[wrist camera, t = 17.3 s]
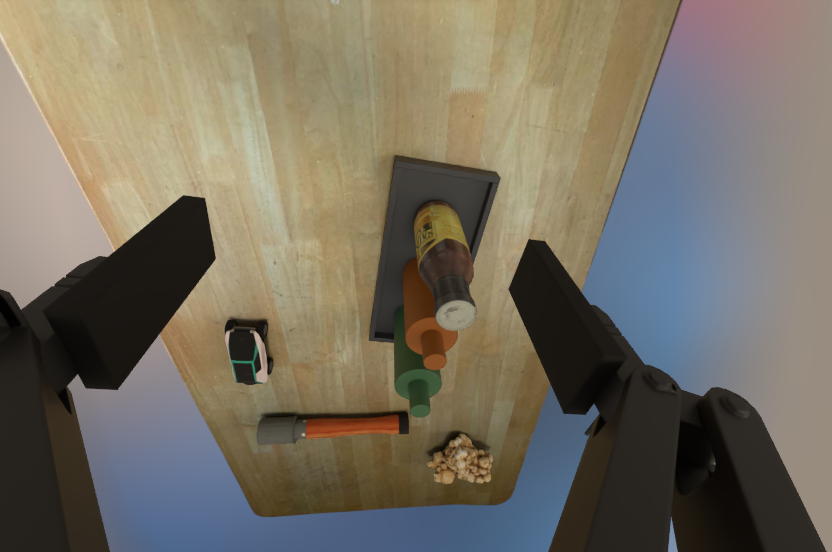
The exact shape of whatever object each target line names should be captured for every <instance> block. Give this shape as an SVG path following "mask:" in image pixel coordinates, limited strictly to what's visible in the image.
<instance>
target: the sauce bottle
mask: <svg viewBox="0 0 832 552" xmlns="http://www.w3.org/2000/svg"><path fill="white" fill-rule="evenodd" d="M414 232H415V242H416V252H417V261H418V270H419V275H420V277H421V279H422V280H423V281H424V282H425V284H426V285H427V286H428V288H429V289H430V290H431V292H432V295H433V297H434V303H435V306H434V314H435V319H436V321H437V323H438V324H439V325H440V326H441V327H442V328H444V329H446V330H450V331H457V330H462V329H464V328H467V327H468V326H470V325H471V324H472V323H473V322H474V321H475V319H476V315H477V310H476V307H475V303H474V300H473V299H472V298H471V295H470V292H469V285H470V283H471V282H472V279H473V277H474V271H473V269H474V268H473V263H472V260H471V254H470V251H469V248H468V245H467V242H466V239H465V236H464V233H463V230H462V226H461V223H460V220H459V218H458V215H457V214H456V213H455V211H454V209H453V208H452V206H450V205H449V204H447V203H445V202H441V201H432V202H429V203H427V204H425V205H423V206H422V207H421V208H420V210H419V211H418V213H417V214H416V217H415V222H414Z"/></svg>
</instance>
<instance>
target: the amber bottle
mask: <svg viewBox="0 0 832 552" xmlns="http://www.w3.org/2000/svg"><path fill="white" fill-rule="evenodd" d="M402 278H403V298H404V319H405V339H406V343H407V345H408V347H409V348H410V349H411V350H413V351H414V352H416V353H418V354H421V355H423V363H424V366H425V367H426V368H427V369H430V370H439V369H441V368H443V367H444V366H445V365H446V362H447V361H446V355H445V352H446V351H448V350H449V349H450V348H451V347H453V345H454V344H455V342H456V340H457V337H458V332H457V331H450V330H446V329H444V328H442V327H441V326H440V325H439V324H438V323H437V321H436V319H435V314H434V306H435V303H434V297H433V295H432V292H431V290H430V289H429V288H428V286H427V285H426V284H425V282H424V281H423V280H422V279H421V277H420V275H419V270H418V261H417V257H415V258H413V259H411V260H410V261H408V262H407V264H406V265H405V266H404V268H403V272H402Z"/></svg>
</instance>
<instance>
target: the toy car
mask: <svg viewBox="0 0 832 552" xmlns="http://www.w3.org/2000/svg"><path fill="white" fill-rule="evenodd" d="M267 331H268V324H267V322H265V321H261V322H259V323H258V326H257V328H253V327H238V325H237V321H236V320H228V321H227V323H226V326H225V342H226V345H227V349H228V354H229V358H230V362H231V366H232V372H233V376H234V379H235V381H236V383H244V384H246V385H254V384H257V383H259V384H263V383H265V382H266V381H267V379H268V375H269V374H271V372H272V369H273V360H272V359H270V358H267V357H266V350H265V345H264V338H265V337H266V335H267ZM256 332H257V333H256ZM256 377H257V378H256Z"/></svg>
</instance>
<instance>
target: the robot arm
mask: <svg viewBox="0 0 832 552" xmlns="http://www.w3.org/2000/svg"><path fill="white" fill-rule="evenodd" d="M215 259H216V257H215V251H214V246H213V240H212V235H211V229H210V223H209V218H208V212H207V207H206V201H205V198H200V197H192V196H185V195H183V196H182V197H181V198H179V199H178V200H177V201H176V202H175V203H173V204H172V205H171V206H170V207H168V208H167V209H166V210H165V211H164V212H162V213H161V214H160V215H159V216H157V217H156V218H155V219H154V220H153V221H151V222H150V223H149V224H148V225H146V226H145V227H144V228H143V229H142V230H140V231H139V232H138V233H137V234H135V235H134V236H133V237H132V238H131V239H129V240H128V241H127V242H126V243H125V244H123V245H122V246H121V247H120V248H118V249H117V250H116V251H115V252H114V253H112V254H111V255H110V256H109V257H103V256H99V257H96V258H94V259H92V260H89V261H87V262H85V263H82V264H80V265H79V266H77V267H76V268H75V269H74V270H72V271H71V272H70V273H68V274H67V275H66V278H64V277H63V278H62V279H61V280H59V281H58V282H57V283H56V284H55V286H54V287H50V288H49V289H48V290H46V291H45V292H44V293H42V294H41V295H40V296H39V297H37V298H36V299H35V300H33V301H32V302H31V303H29V304H28V305H27V306H26V307H24V308H23V309H22V310H21V309H20V308H19V306H18V304H17V303H16V301H15V300H14V298H13V297H12V295H11V294H10V293H9V292H7V291H4V290H0V552H110V550H109V546H108V542H107V538H106V534H105V530H104V525H103V522H102V517H101V513H100V509H99V505H98V501H97V497H96V493H95V489H94V484H93V480H92V476H91V472H90V468H89V464H88V460H87V455H86V451H85V447H84V443H83V439H82V435H81V431H80V426H79V422H78V418H77V414H76V410H75V406H74V402H73V398H72V394H71V392H70V390H69V389H68V387H67V385H68V384H69V383H70V382H71V381H72V380H73V379H74V378H75V376H76V375H77V374H78V375H79V377H80V378H81V380H82V382H83V384H84V386H85V387H86V388H91V389H110V390H118V388H119V387H120V386H121V384H122V383H123V382H124V380H125V379H126V378H127V376H128V375H129V374H130V372H131V371H132V370H133V368H134V367H135V366H136V364H137V363H138V362H139V360H140V359H141V358H142V356H143V355H144V354H145V352H146V351H147V350H148V348H149V347H150V346H151V344H152V343H153V342H154V340H155V339H156V338H157V336H158V335H159V334H160V332H161V331H162V330H163V328H164V327H165V326H166V324H167V323H168V322H169V320H170V319H171V318H172V316H173V315H174V314H175V312H176V311H177V310H178V308H179V307H180V306H181V304H182V303H183V302H184V300H185V299H186V298H187V296H188V295H189V294H190V292H191V291H192V290H193V288H194V287H195V286H196V284H197V283H198V282H199V280H200V279H201V278H202V276H203V275H204V274H205V272H206V271H207V270H208V268H209V267H210V266H211V265H212V263H213V262H214V261H215ZM509 291H510V294H511V296H512V298H513V300H514V303H515V305H516V307H517V309H518V312H519V314H520V316H521V318H522V321H523V323H524V325H525V327H526V330H527V332H528V334H529V336H530V339H531V341H532V343H533V345H534V348H535V350H536V352H537V354H538V357H539V359H540V361H541V363H542V366H543V368H544V370H545V372H546V375H547V377H548V379H549V381H550V384H551V386H552V388H553V390H554V392H555V395H556V397H557V399H558V402H559V404H560V406H561V408H562V410H563V413H564V414H582V415H585V414H586V413H587V412H588V411H589V409H590V408H591V406H592V405H593V404H595V405H596V407H597V409H598V411H599V413H600V414H599V415H598V417H597V418H596V419H595V420H594V422H593V423H592V424H591V425H590V427H589V428H588V429H587V431H586V432H585V434H586V435H589V434H590V435H589V438H588V440H587V443H586V446H585V449H584V452H583V455H582V457H581V461H580V463H579V466H578V469H577V472H576V475H575V478H574V480H573V483H572V486H571V489H570V492H569V495H568V497H567V500H566V503H565V506H564V509H563V512H562V515H561V517H560V520H559V523H558V526H557V529H556V532H555V534H554V537H553V540H552V543H551V546H550V549H549V552H668V544H669V533H670V522H671V517H672V522H673V528H674V533H675V538H676V544H677V549H678V552H826V550H825V548H824V546H823V543H822V542H821V540H820V537H819V535H818V533H817V531H816V529H815V527H814V525H813V523H812V521H811V519H810V517H809V515H808V513H807V511H806V509H805V507H804V505H803V503H802V500H801V498H800V496H799V494H798V492H797V490H796V488H795V486H794V484H793V482H792V480H791V478H790V476H789V474H788V472H787V470H786V468H785V466H784V464H783V461H782V460H781V458H780V455H779V453H778V451H777V450H776V447H775V445H774V443H773V441H772V439H771V437H770V435H769V433H768V431H767V429H766V427H765V425H764V423H763V421H762V418H761V417H760V415H759V414H758V412H757V411H756V409H755V408H754V407H752V406H751V405H750V404H749V403H748V401H746V400H745V399H744V398H742V397H741V396H739V395H737V394H736V393H733V392H731V391H729V390H727V389H723V388H719V387H716V388H711V389H710V390H709V391H708V392H707V393H706V394H705V395H704V396H703V397H702V396H699V395H696V394H693V393H690V392H687V391H684V390H681V388H680V387H679V386H678V384H677V383H676V381H674V380H673V379H672V378H671V377H670V376H669V375H668V374H666V373H665V372H663V371H661V370H660V369H658V368H655V367H653V366H650V365H645V364H644V363H643V362H642V360H641V359H640V358H639V356H638V355H637V354H636V353H635V351H634V350H633V348H632V347H631V346H630V344H629V343H628V342H627V340H626V339H625V338H624V336H622V334H621V332H620V331H619V329H618V328H616V327H615V324H614V323H613V321H612V320H611V319H610V317H609V316H608V315H607V314H606V313H604V312H603V311H602V310H601V309H600V308H598V307H597V306H595V305H590V304H589V302H588V301H587V300H586V298H585V297H584V295H583V294H582V292H581V291H580V290H579V288H578V287H577V285H576V284H575V283H574V281H573V280H572V278H571V277H570V276H569V274H568V273H567V271H566V270H565V269H564V267H563V266H562V264H561V263H560V262H559V260H558V259H557V257H556V256H555V255H554V253H553V252H552V250H551V249H550V248H549V246H548V245H547V243H546V242H545V241H538V240H531V239H529V240H528V242H527V245H526V247H525V250H524V252H523V255H522V257H521V260H520V262H519V265H518V267H517V270H516V272H515V275H514V277H513V280H512V282H511V285H510V287H509ZM714 463H715V465H714Z"/></svg>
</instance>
